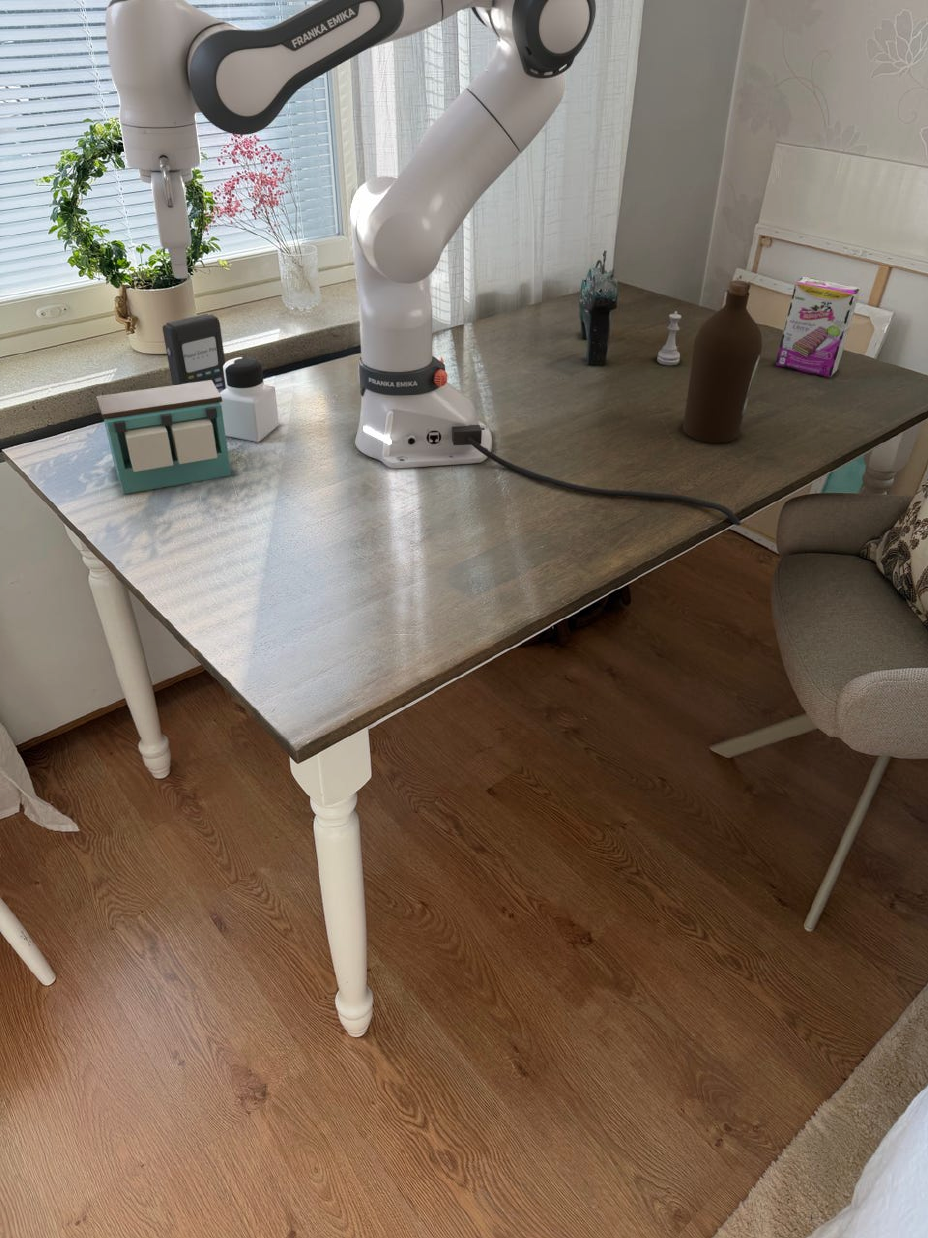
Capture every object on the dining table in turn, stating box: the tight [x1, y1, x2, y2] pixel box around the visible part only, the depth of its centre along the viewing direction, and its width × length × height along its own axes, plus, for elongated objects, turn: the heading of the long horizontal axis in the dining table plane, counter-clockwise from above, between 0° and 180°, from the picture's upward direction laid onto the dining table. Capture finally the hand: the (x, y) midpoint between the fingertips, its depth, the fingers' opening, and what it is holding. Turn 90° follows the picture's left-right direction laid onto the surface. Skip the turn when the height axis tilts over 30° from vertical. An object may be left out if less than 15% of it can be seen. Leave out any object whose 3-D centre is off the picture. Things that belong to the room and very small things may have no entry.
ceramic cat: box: [578, 250, 619, 367], centre depth 181 cm, size 20×6×20 cm, turn 179°
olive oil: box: [682, 279, 763, 444], centre depth 150 cm, size 11×11×25 cm
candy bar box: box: [775, 276, 861, 378], centre depth 177 cm, size 11×5×16 cm, turn 58°
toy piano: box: [95, 380, 232, 495], centre depth 138 cm, size 10×17×12 cm, turn 114°
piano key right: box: [169, 417, 217, 464], centre depth 135 cm, size 4×6×5 cm, turn 114°
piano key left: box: [124, 424, 173, 472], centre depth 133 cm, size 4×6×5 cm, turn 114°
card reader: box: [162, 313, 226, 393], centre depth 157 cm, size 9×4×15 cm, turn 131°
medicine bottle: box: [220, 356, 280, 443], centre depth 150 cm, size 7×7×12 cm
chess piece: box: [656, 310, 682, 366], centre depth 180 cm, size 4×4×10 cm
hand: (179, 266), depth 120 cm, fingers open, 8 cm apart
